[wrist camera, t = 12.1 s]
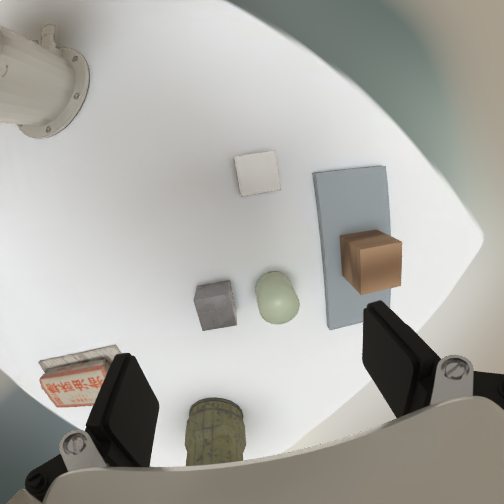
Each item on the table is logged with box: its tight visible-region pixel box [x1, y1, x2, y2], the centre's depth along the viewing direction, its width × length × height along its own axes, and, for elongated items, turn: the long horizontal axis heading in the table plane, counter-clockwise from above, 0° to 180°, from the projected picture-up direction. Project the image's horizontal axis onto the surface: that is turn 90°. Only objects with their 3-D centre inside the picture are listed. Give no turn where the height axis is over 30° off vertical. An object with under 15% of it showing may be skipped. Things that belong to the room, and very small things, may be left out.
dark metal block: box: [194, 280, 237, 331], centre depth 34 cm, size 4×4×4 cm
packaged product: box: [39, 345, 122, 407], centre depth 37 cm, size 18×5×10 cm
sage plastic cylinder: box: [255, 271, 299, 324], centre depth 34 cm, size 4×4×5 cm
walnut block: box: [340, 229, 402, 295], centre depth 31 cm, size 5×5×6 cm
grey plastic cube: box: [234, 151, 281, 197], centre depth 30 cm, size 4×4×4 cm
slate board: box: [313, 166, 391, 330], centre depth 35 cm, size 20×9×1 cm, turn 9°
